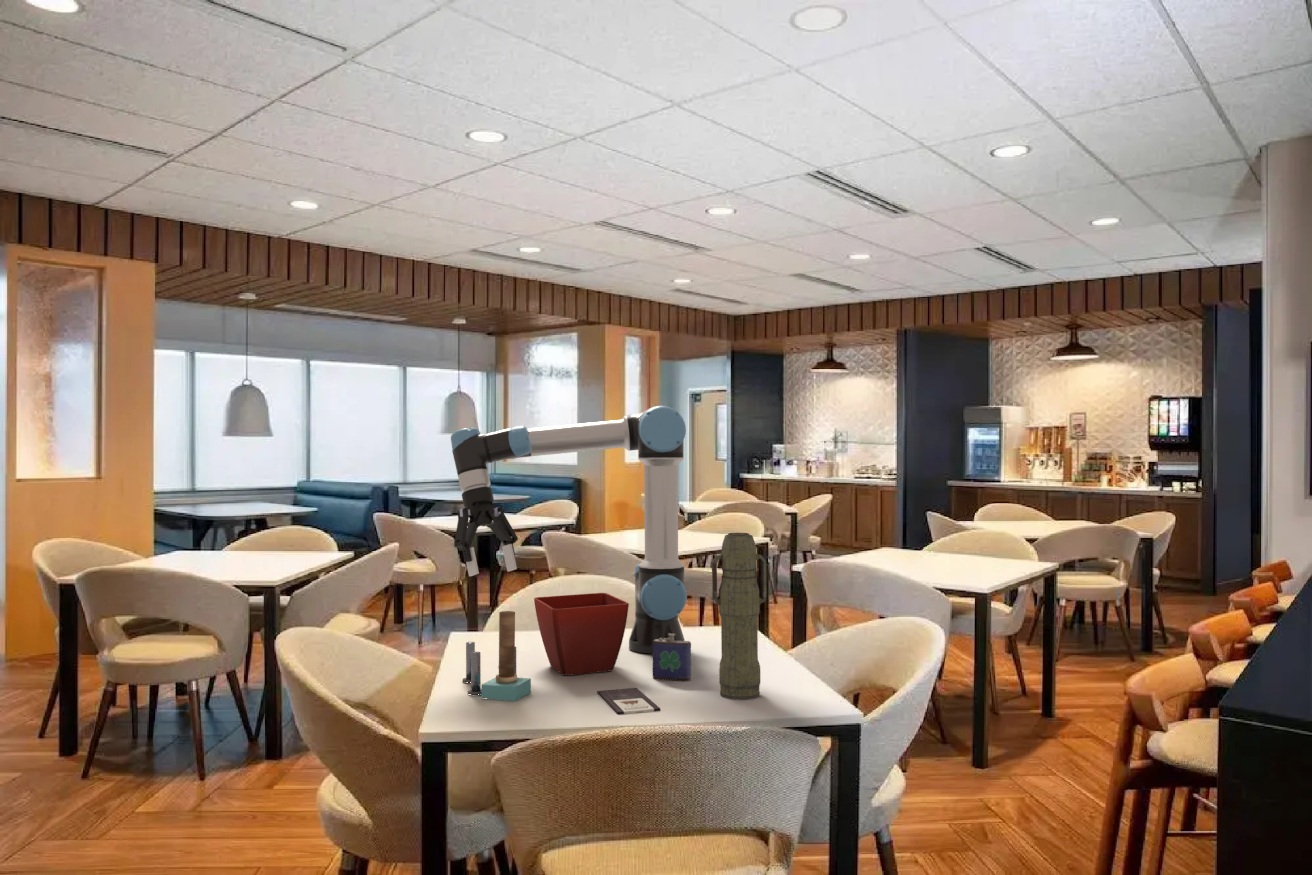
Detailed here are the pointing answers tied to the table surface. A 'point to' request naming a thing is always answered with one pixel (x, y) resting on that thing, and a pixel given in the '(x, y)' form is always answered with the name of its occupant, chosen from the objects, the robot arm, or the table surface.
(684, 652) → the flask
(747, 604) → the thermos
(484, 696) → the block
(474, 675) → the post course
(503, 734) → the table surface
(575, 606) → the plant pot
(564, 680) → the table surface
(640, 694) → the chocolate bar
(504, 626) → the brown flanged cylinder
